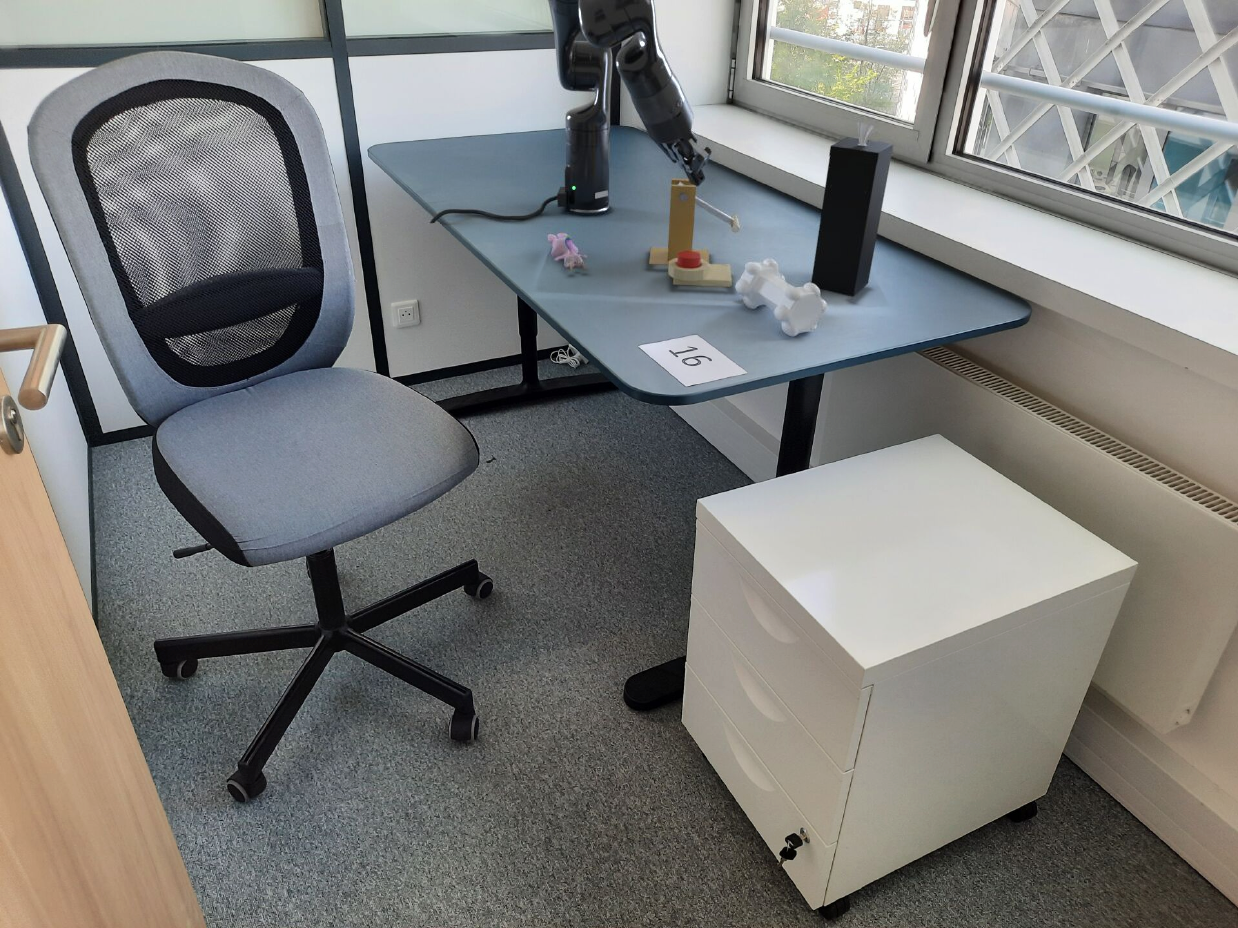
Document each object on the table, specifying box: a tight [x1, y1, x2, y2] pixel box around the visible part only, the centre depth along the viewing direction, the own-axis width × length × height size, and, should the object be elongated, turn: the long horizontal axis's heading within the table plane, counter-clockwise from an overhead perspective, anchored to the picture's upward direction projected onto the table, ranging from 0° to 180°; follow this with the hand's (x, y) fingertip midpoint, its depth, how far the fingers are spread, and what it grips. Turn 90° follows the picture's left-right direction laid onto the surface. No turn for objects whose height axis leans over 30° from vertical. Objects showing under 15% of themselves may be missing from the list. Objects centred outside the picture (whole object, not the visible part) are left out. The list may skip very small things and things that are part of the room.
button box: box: [667, 258, 733, 288], centre depth 154 cm, size 11×9×4 cm
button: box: [677, 251, 701, 269], centre depth 152 cm, size 4×4×2 cm
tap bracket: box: [648, 178, 710, 266], centre depth 160 cm, size 11×9×15 cm
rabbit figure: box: [547, 232, 588, 272], centre depth 162 cm, size 6×6×15 cm
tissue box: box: [810, 121, 895, 297], centre depth 146 cm, size 8×8×28 cm
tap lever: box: [678, 182, 740, 234], centre depth 159 cm, size 13×6×2 cm, turn 88°
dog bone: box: [735, 257, 828, 337], centre depth 141 cm, size 15×9×8 cm, turn 24°
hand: (698, 181), depth 148 cm, fingers closed
